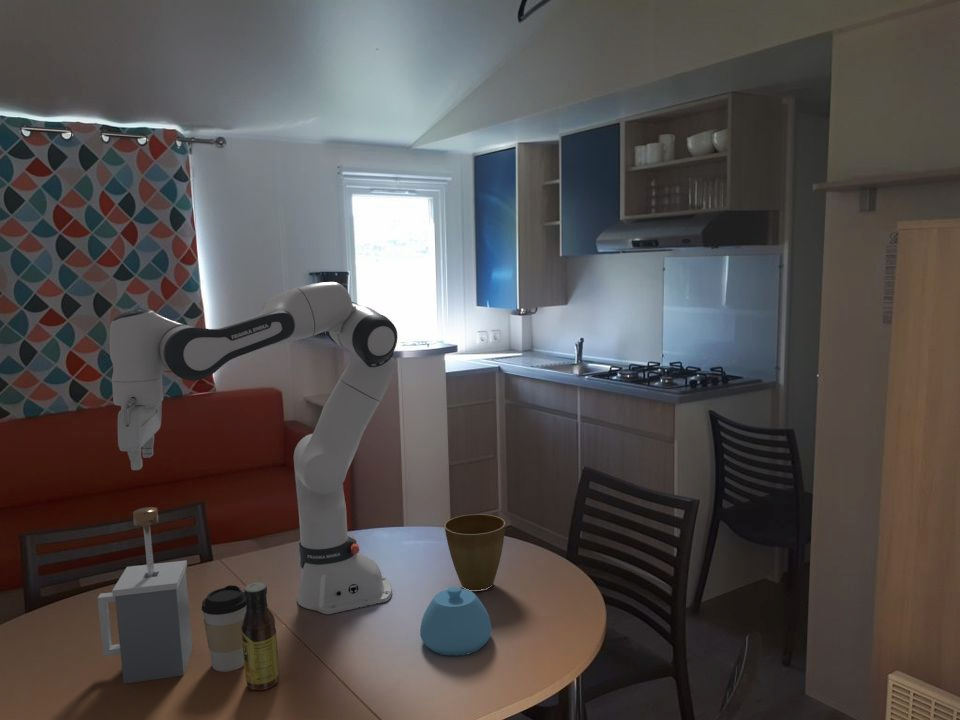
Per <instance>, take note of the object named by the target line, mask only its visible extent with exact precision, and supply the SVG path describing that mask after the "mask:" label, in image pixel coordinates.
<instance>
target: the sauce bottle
mask: <svg viewBox="0 0 960 720" xmlns="http://www.w3.org/2000/svg"><path fill="white" fill-rule="evenodd" d="M243 592H245V597H246V605H247V607H246V613H245V617H244V620H243V624H242V627H241V631H242V643H243V655H244V666H243V667H244V675H245V676H244V677H245V681H246V685H247V688H249V690H252V691H264V690H268V689H271V688H273V687H275V685H277V683H278V682H279V680H280V674H279V673H280V667H279V654H278V642H277V641H278V639H277V628H276V620H275V615H274V614H273V613H272V611H271V610H270V609H269V608H268V602H267V600H268V599H267V592H268V587H267V584H266V583H264V582H259V581H258V582H252V583H250V584H248V585H246V586H245V587H244V591H243Z"/></svg>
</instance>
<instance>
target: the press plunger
mask: <svg viewBox="0 0 960 720" xmlns="http://www.w3.org/2000/svg"><path fill="white" fill-rule="evenodd" d="M132 515H133V525H134V526H135V527H142V528H143V537H144V538H143V539H144V546H145V547H144V549H145V559H146V565H147V571H148V578H149V577H155V575H154V564H155V563H154V555H153V544H152V535H151V534H152V533H151V526H152V525H155V524H157V523H158V522H159V513H158V507H153V506H151V507H150V506H149V507H142V508H137V509H136V510H134V511H133V512H132Z"/></svg>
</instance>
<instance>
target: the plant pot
mask: <svg viewBox="0 0 960 720" xmlns="http://www.w3.org/2000/svg"><path fill="white" fill-rule="evenodd" d="M443 527H444V533H445V537H446V540H447V541H446V542H447V546H448V550H449V555H450V557H451V561H452V564H453V567H454V569H455V572H456V575H457V577H458V580H459V582H460V584H461V587H462V586H463V587H464V588H466V589H469V590H481V589H486V588H488V587H490V586H491V585H492V586H493V585H494V583H495V580H496V576H497V574H498V573H497V572H498V569H499V565H500V562H501V557H502V552H503V546H504V542H505V541H504V539H505V532H506V521H505V519H503V518H502V517H499V516H497V515H492V514H484V513H474V514H464V515H459V516H456V517H453V518H450V519H449V520H447V521H446V522H445V523H444V526H443ZM463 587H462V588H463ZM464 588H463V589H464Z"/></svg>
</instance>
